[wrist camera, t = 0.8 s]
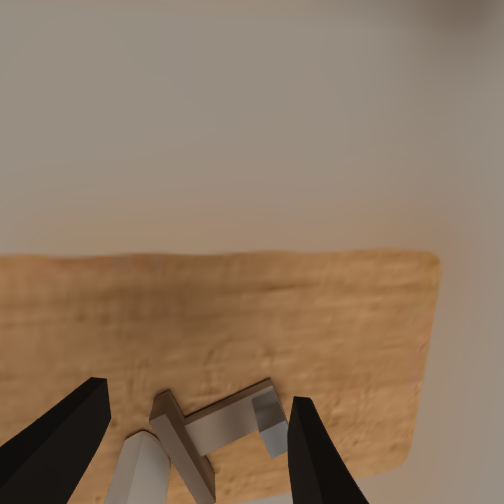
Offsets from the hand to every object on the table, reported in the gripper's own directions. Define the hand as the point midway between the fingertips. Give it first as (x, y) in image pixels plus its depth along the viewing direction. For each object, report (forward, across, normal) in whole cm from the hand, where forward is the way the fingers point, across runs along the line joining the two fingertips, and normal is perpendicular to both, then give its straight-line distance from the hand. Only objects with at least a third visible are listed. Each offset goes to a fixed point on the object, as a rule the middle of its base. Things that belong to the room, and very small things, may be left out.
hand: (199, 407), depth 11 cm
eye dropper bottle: (+11, +7, +20) cm, 24 cm away
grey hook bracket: (+13, -1, +16) cm, 21 cm away
